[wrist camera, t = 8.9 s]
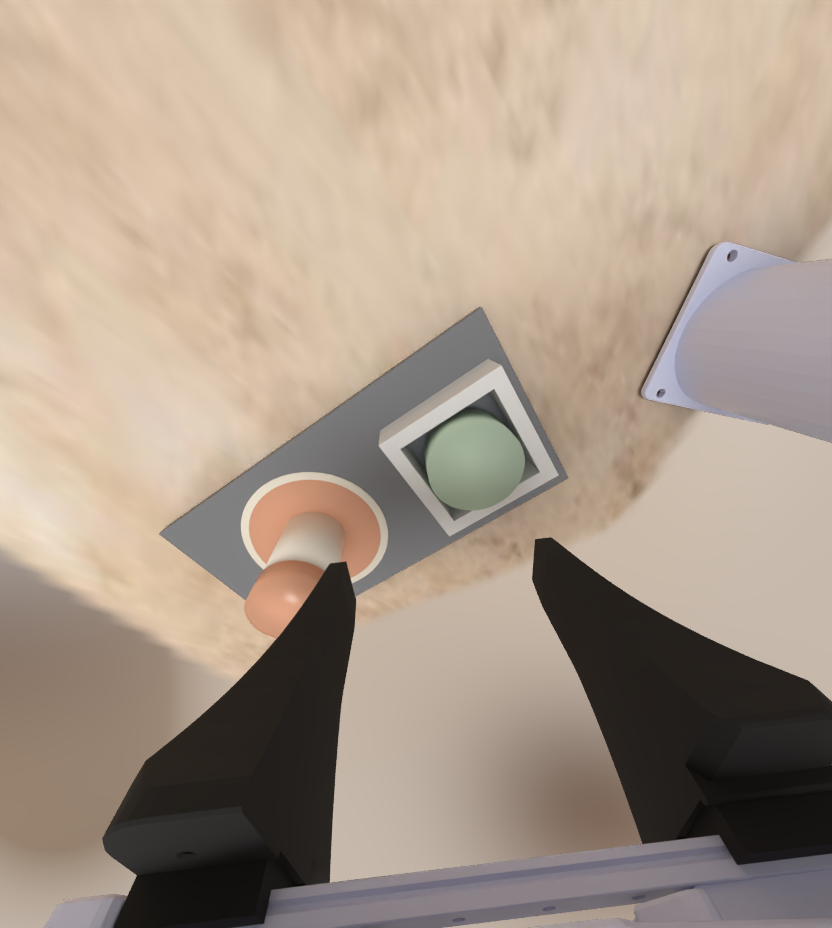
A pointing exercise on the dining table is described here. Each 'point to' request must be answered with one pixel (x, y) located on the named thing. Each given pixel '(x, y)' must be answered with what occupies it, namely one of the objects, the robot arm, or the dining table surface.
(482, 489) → the button
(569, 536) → the dining table surface
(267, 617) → the white orange capped cylinder
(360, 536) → the grey rectangular tray
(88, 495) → the dining table surface
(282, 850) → the robot arm
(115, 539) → the dining table surface
